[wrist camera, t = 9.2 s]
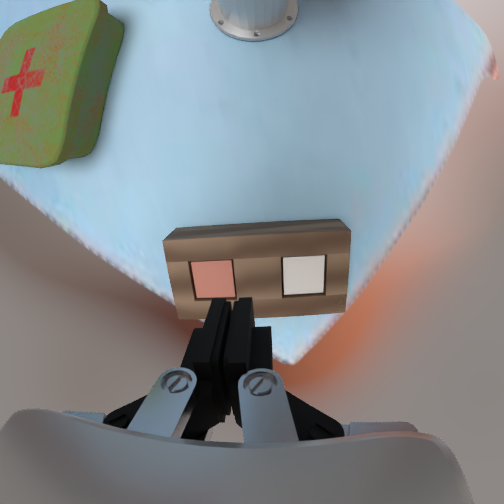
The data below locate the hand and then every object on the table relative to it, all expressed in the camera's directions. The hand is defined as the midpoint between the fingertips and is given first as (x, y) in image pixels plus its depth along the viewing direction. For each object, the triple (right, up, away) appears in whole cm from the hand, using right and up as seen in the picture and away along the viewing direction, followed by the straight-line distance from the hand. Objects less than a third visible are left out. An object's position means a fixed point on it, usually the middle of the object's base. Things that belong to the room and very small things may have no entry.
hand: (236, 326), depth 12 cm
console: (+2, +2, +30) cm, 30 cm away
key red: (-4, +1, +29) cm, 30 cm away
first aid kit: (-34, +32, +21) cm, 51 cm away
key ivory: (+8, +2, +29) cm, 30 cm away
